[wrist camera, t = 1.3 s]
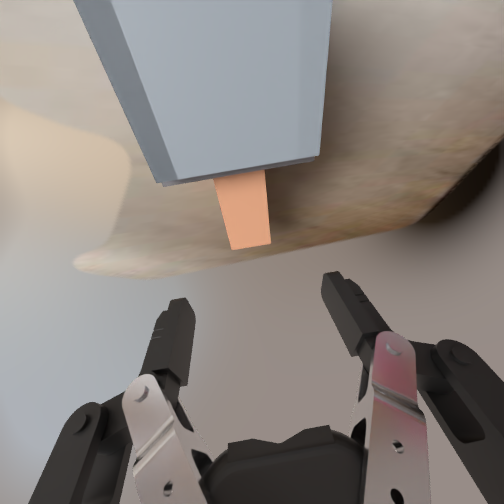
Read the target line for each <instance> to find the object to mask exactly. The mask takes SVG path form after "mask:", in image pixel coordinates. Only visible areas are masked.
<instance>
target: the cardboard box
mask: <svg viewBox="0 0 504 504" xmlns="http://www.w3.org/2000/svg"><path fill="white" fill-rule="evenodd" d="M213 180H214V184H215V187H216V191H217V195H218V199H219V203H220V207H221V211H222V214H223V218H224V222H225V226H226V230H227V234H228V237H229V241H230V245H231V249H232V250H236V249H242V248H248V247H253V246H259V245H265V244H271V239H270V227H269V216H268V204H267V193H266V182H265V170H259V171H253V172H247V173H241V174H235V175H230V176H224V177H218V178H213Z"/></svg>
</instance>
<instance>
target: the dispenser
mask: <svg viewBox="0 0 504 504" xmlns="http://www.w3.org/2000/svg"><path fill="white" fill-rule="evenodd" d="M73 1H74V3H75V5H76V7H77V9H78V12H79V14H80V16H81V18H82V20H83V23H84V25H85V27H86V29H87V31H88V34H89V36H90V38H91V40H92V42H93V45H94V47H95V49H96V51H97V53H98V56H99V58H100V60H101V62H102V64H103V67H104V69H105V71H106V73H107V75H108V77H109V80H110V82H111V84H112V86H113V88H114V91H115V93H116V95H117V97H118V99H119V102H120V104H121V106H122V108H123V110H124V113H125V115H126V117H127V119H128V121H129V124H130V126H131V128H132V130H133V132H134V135H135V137H136V139H137V141H138V143H139V146H140V148H141V150H142V152H143V154H144V157H145V159H146V161H147V163H148V165H149V168H150V170H151V172H152V174H153V176H154V179H155V181H156V183H161V182H162V185H163V187H166V186H172V185H177V184H183V183H189V182H195V181H201V180H206V179H212V178H218V177H224V176H230V175H235V174H241V173H247V172H253V171H259V170H264V169H270V168H276V167H282V166H287V165H293V164H299V163H305V162H311V161H314V156H318V155H319V153H320V141H321V129H322V118H323V106H324V94H325V83H326V71H327V59H328V48H329V36H330V24H331V13H332V1H333V0H73Z"/></svg>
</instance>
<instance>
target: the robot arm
mask: <svg viewBox="0 0 504 504" xmlns="http://www.w3.org/2000/svg"><path fill="white" fill-rule="evenodd" d="M321 295H322V298H323V301H324V303H325V305H326V307H327V309H328V311H329V313H330V315H331V317H332V319H333V321H334V323H335V325H336V327H337V329H338V331H339V333H340V335H341V337H342V339H343V341H344V343H345V345H346V346H347V349H348V351H349V353H350V355H351V356H352V357H353V356H359V357H360V359H361V361H362V363H361V369H360V376H359V383H358V389H357V396H356V402H355V406H354V409H353V412H352V417H351V422H350V428H349V435H348V436H346V435H344V434H342V433H340V432H337V431H334V430H331V429H330V426H329V425H326V426H320V427H315V428H309V429H305V430H302V431H301V432H299V433H298V434H296V435H294V436H293V437H291V438H289V439H288V440H286V441H284V442H283V443H278V444H277V443H273V442H267V441H262V440H257V439H249V440H243V441H238V442H233V443H228V449H227V450H225V451H224V452H223V453H222V454H220V455H219V456H218V457H217V458H216V459H214V457H213V455H212V453H211V452H210V450H209V448H208V446H207V444H206V443H205V441H204V440H203V438H202V437H201V436H200V435H199V433H198V432H197V430H196V428H195V426H194V424H193V422H192V421H191V419H190V417H189V415H188V413H187V411H186V409H185V407H184V405H183V403H182V401H181V400H180V398H179V396H178V395H179V388H180V387H181V386H187V384H188V376H189V368H190V361H191V353H192V346H193V338H194V330H195V322H196V320H195V314H194V311H193V309H192V308H191V306H190V304H189V302H188V300H187V299H186V298H179V299H174V300H171V301H170V304H169V307H168V310H167V311H163V312H162V313H161V315H160V316H159V318H158V319H157V321H156V324H155V327H154V332H153V334H152V337H151V340H150V343H149V346H148V350H147V353H146V356H145V359H144V363H143V366H142V369H141V372H140V374H139V376H138V377H137V378H136V379H135V380H134V381H133V382H132V383H131V384H130V385H129V386H128V388H127V389H126V391H125V392H123V393H121V394H119V395H117V396H116V397H114V398H112V399H110V400H108V401H106V402H104V403H102V404H101V405H100V404H98V403H95V402H89V403H86V404H85V405H83V406H81V407H80V408H78V409H77V410H76V411H75V412H74V413H73V414H72V415H71V416H70V417H69V419H68V420H67V422H66V423H65V425H64V427H63V429H62V431H61V433H60V435H59V437H58V439H57V442H56V444H55V446H54V448H53V450H52V453H51V455H50V457H49V459H48V461H47V464H46V466H45V468H44V470H43V472H42V475H41V477H40V479H39V482H38V484H37V486H36V488H35V490H34V492H33V494H32V497H31V499H30V501H29V503H28V504H119V502H120V497H121V493H122V489H123V485H124V480H125V476H126V471H127V466H128V463H129V458H130V453H131V450H132V445H134V448H135V451H136V456H137V458H136V462H135V463H134V466H133V475H134V480H135V484H136V487H137V491H138V495H139V499H140V502H141V504H431V491H430V475H429V459H428V443H427V427H426V419H425V416H424V414H423V412H422V411H421V410H420V409H419V407H418V403H417V390H418V391H419V393H420V394H421V396H422V397H423V399H424V401H425V402H426V404H427V406H428V407H429V409H430V410H431V412H432V414H433V415H434V417H435V418H436V420H437V422H438V423H439V425H440V427H441V428H442V430H443V432H444V433H445V435H446V436H447V438H448V440H449V441H450V443H451V444H452V446H453V448H454V449H455V451H456V453H457V454H458V456H459V457H460V459H461V460H462V462H463V464H464V466H465V467H466V469H467V470H468V472H469V474H470V475H471V477H472V478H473V480H474V482H475V483H476V485H477V487H478V488H479V490H480V491H481V493H482V495H483V496H484V498H485V500H486V501H487V503H488V504H504V382H503V381H502V380H501V379H500V378H499V377H498V376H497V375H496V373H495V372H494V371H493V370H492V369H491V368H490V367H489V366H488V365H487V364H486V363H485V362H484V361H483V360H482V359H481V357H479V356H478V354H477V353H476V352H475V351H473V350H472V349H470V348H469V347H468V346H466V345H464V344H462V343H460V342H458V341H454V340H447V339H446V340H442V341H440V342H438V343H437V344H436V345H434V344H427V343H420V342H414V341H409V340H407V339H405V338H404V337H403V336H401V335H399V334H397V333H395V332H393V331H392V330H391V329H390V328H389V326H388V325H387V324H386V322H385V321H384V320H383V318H382V317H381V316H380V314H379V313H378V312H377V310H376V309H375V307H374V306H373V305H372V303H371V302H370V301H369V299H368V298H367V296H366V295H364V292H363V291H362V290H361V288H360V287H359V286H358V285H357V284H356V283H355V282H353V281H352V280H350V279H344V278H343V277H342V275H341V274H340V272H338V271H336V272H330V273H325V274H324V275H323V281H322V288H321ZM395 450H397V452H396V451H395ZM171 491H172V493H171Z"/></svg>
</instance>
